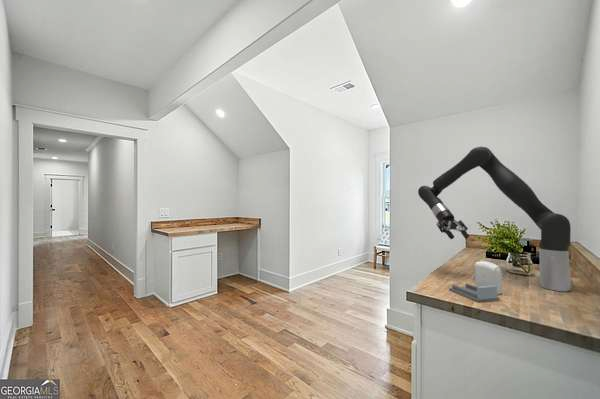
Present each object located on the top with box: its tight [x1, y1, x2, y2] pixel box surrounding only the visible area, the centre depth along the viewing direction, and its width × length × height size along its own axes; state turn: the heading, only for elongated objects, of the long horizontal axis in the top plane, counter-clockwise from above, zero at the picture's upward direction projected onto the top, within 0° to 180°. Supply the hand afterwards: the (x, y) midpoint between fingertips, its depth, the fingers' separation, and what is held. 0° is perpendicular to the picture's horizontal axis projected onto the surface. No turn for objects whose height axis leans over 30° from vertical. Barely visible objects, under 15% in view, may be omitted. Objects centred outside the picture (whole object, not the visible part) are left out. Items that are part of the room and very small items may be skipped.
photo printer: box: [474, 260, 503, 295], centre depth 109 cm, size 10×4×12 cm, turn 13°
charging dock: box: [449, 283, 500, 303], centre depth 104 cm, size 10×14×6 cm
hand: (460, 238), depth 124 cm, fingers open, 8 cm apart
